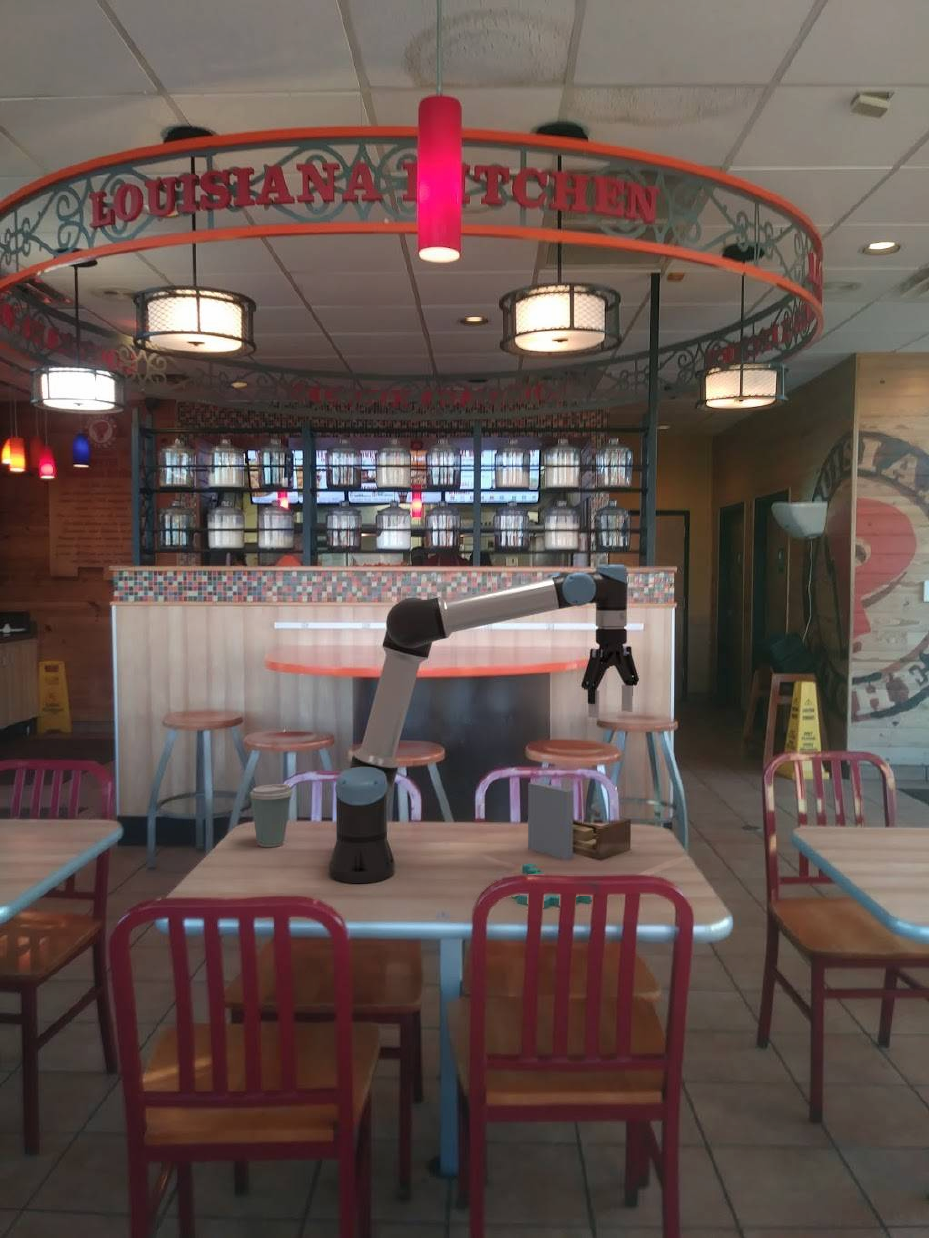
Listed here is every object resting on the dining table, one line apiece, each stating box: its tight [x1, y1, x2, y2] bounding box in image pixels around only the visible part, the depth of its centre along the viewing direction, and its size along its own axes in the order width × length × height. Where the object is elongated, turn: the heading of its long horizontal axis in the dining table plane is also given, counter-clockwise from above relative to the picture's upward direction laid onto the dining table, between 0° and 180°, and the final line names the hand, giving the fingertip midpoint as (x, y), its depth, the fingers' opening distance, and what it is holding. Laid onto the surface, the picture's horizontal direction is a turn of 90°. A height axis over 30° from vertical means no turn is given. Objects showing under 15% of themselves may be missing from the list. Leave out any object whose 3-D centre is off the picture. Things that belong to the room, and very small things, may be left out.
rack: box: [573, 817, 632, 861], centre depth 218 cm, size 20×12×9 cm, turn 44°
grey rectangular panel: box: [527, 781, 574, 861], centre depth 212 cm, size 12×2×17 cm, turn 44°
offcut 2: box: [573, 839, 596, 850], centre depth 217 cm, size 12×4×2 cm, turn 44°
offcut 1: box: [573, 825, 593, 842], centre depth 217 cm, size 9×3×2 cm, turn 49°
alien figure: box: [508, 862, 592, 910], centre depth 191 cm, size 20×2×20 cm
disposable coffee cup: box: [249, 783, 293, 848], centre depth 225 cm, size 11×11×15 cm
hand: (610, 714), depth 215 cm, fingers open, 13 cm apart
